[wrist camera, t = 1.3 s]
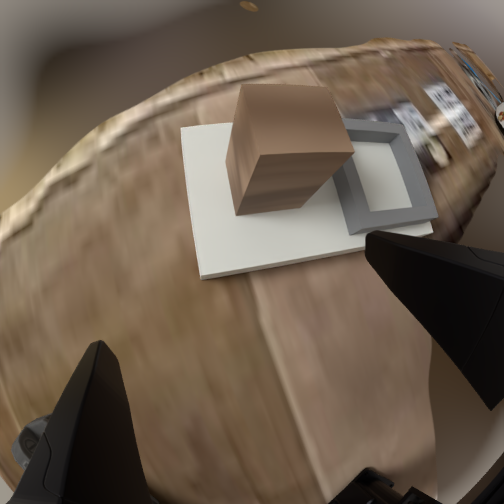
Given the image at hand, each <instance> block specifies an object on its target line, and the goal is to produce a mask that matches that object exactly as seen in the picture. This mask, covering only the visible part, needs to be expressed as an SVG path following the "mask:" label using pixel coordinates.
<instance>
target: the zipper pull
mask: <svg viewBox="0 0 504 504" xmlns="http://www.w3.org/2000/svg"><path fill="white" fill-rule="evenodd" d="M51 415H52V413H51V414H48V415H45V416H43V417H40V418H37V419H35V420H34V421H32V422H30V423H29V424H27V425H26V426H25V427H24V429H23V430H22V431H21V433H20V434H19V435H18V437H17V438H16V440H15V441H14V443H13V445H12V449H11V451H12V454H13V456H14V459H15V461H16V462H17V463H18V464H19V465H20V466H21V467H22V468H23V469H24V471H25V469H26V467H27V465H28V463H29V461H30V459H31V457H32V455H33V453H34V451H35V449H36V446H37V444H38V442H39V440H40V438H41V436H42V433H43V432H44V429H45V427H46V425H47V423H48V421H49V419H50V417H51ZM150 496H151V495H150ZM151 499H152V503H153V504H159V501H158V500H156V499H155V498H154V497H153V496H151Z"/></svg>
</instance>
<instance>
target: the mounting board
mask: <svg viewBox="0 0 504 504" xmlns="http://www.w3.org/2000/svg"><path fill="white" fill-rule="evenodd" d="M342 121H343V123H344V126H345V128H346V130H347V133H348V135H349V138H350V140H351V143H352V145H353V148H354V151H355V153H354V154H353V155H352V156H351V157H350V158H349V159H348V160H347V161H346V162H345V163H344V164H343V165H342V166H341V167H340V168H339V169H338V170H337V171H336V172H335V173H334V174H333V175H332V176H331V177H330V178H329V179H328V180H327V181H326V182H325V183H324V184H323V185H322V186H321V187H320V188H319V189H318V190H317V191H316V192H315V193H314V195H313V196H312V197H311V198H310V199H309V200H308V201H307V202H306V203H305V204H304V205H303V206H302V207H301V208H295V209H287V210H279V211H271V212H263V213H255V214H248V215H241V216H235V211H234V205H233V200H232V195H231V190H230V184H229V179H228V174H227V169H226V163H225V160H226V155H227V150H228V145H229V140H230V135H231V130H232V125H233V123H221V124H210V125H200V126H192V127H184V128H181V141H182V152H183V161H184V170H185V178H186V186H187V194H188V201H189V208H190V215H191V222H192V229H193V235H194V242H195V248H196V254H197V260H198V266H199V272H200V278H201V280H205V279H210V278H216V277H222V276H228V275H233V274H239V273H245V272H250V271H256V270H261V269H267V268H272V267H278V266H283V265H289V264H294V263H299V262H305V261H310V260H315V259H320V258H326V257H331V256H336V255H341V254H346V253H351V252H356V251H361V250H365V236H366V234H367V233H369V232H372V231H374V230H380V231H387V232H393V233H399V234H405V235H410V236H416V237H423V236H425V235H428V234H430V233H433V230H432V226H431V223H430V221H431V220H433V219H436V218H438V214H437V211H436V207H435V204H434V201H433V198H432V195H431V192H430V189H429V186H428V183H427V181H426V178H425V175H424V173H423V170H422V167H421V165H420V162H419V160H418V157H417V155H416V153H415V150H414V148H413V146H412V143H411V141H410V139H409V137H408V134H407V132H406V130H405V128H404V126H403V125H401V124H394V123H386V122H378V121H369V120H359V119H347V118H342Z"/></svg>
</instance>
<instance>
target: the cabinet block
mask: <svg viewBox="0 0 504 504" xmlns="http://www.w3.org/2000/svg"><path fill="white" fill-rule="evenodd" d="M354 153H355V151H354V148H353V145H352V143H351V140H350V138H349V135H348V133H347V130H346V128H345V126H344V123H343V121H342V118H341V116H340V114H339V111H338V109H337V107H336V105H335V103H334V100H333V98H332V96H331V94H330V92H329V90H328V88H327V87H318V86H305V85H286V84H242V85H241V89H240V93H239V98H238V102H237V107H236V111H235V116H234V121H233V125H232V130H231V135H230V140H229V145H228V150H227V155H226V160H225V163H226V169H227V174H228V179H229V184H230V190H231V195H232V200H233V205H234V211H235V216H241V215H248V214H255V213H263V212H271V211H279V210H287V209H295V208H301V207H302V206H303V205H304V204H305V203H306V202H307V201H308V200H309V199H310V198H311V197H312V196H313V195H314V193H315V192H316V191H317V190H318V189H319V188H320V187H321V186H322V185H323V184H324V183H325V182H326V181H327V180H328V179H329V178H330V177H331V176H332V175H333V174H334V173H335V172H336V171H337V170H338V169H339V168H340V167H341V166H342V165H343V164H344V163H345V162H346V161H347V160H348V159H349V158H350V157H351V156H352V155H353V154H354Z"/></svg>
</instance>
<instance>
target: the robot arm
mask: <svg viewBox="0 0 504 504" xmlns="http://www.w3.org/2000/svg"><path fill="white" fill-rule="evenodd" d="M365 257H366V259H367V261H368V262H369V264H370V265H371V266H372V267H373V269H374V270H375V271H376V272H377V274H378V275H379V276H380V277H381V279H382V280H383V281H384V283H385V284H386V285H387V286H388V288H389V289H390V290H391V291H392V292H393V294H394V295H395V296H396V297H397V298H398V299H399V300H400V301H401V302H402V303H403V304H404V306H405V307H406V308H407V309H408V310H409V311H410V312H411V313H412V314H413V315H414V317H415V318H416V319H417V320H418V321H419V322H420V323H421V324H422V326H423V327H424V328H425V329H426V330H427V331H428V332H429V334H430V335H431V336H432V337H433V338H434V339H435V340H436V342H437V343H438V344H439V345H440V347H441V348H442V349H443V350H444V351H445V353H446V354H447V355H448V356H449V357H450V358H451V360H452V361H453V362H454V364H455V365H456V366H457V367H458V369H459V370H460V371H461V372H462V374H463V375H464V376H465V378H466V379H467V380H468V381H469V383H470V384H471V386H472V387H473V388H474V390H475V391H476V392H477V394H478V395H479V396H480V398H481V399H482V400H483V402H484V403H485V405H486V406H487V407H488V409H490V411H492V410H493V408H495V406H496V405H497V404H498V403H499V402H500V401H501V400H502V399H503V398H504V253H502V252H496V251H490V250H484V249H479V248H474V247H469V246H468V247H466V246H464V245H459V244H454V243H449V242H443V241H438V240H433V239H427V238H422V237H416V236H410V235H405V234H399V233H393V232H387V231H380V230H374V231H372V232H369V233H367V234H366V236H365ZM393 486H394V482H392V481H390V480H388V479H386V478H384V477H382V476H381V475H379V474H377V473H375V472H373V471H371V470H369V469H367V468H366V469H364V470H362V471H361V473H360V474H359V475H358V476H357V477H356V478H355V479H354V480H353V481H352V482H351V483H350V484H349V485H348V486H347V487H346V488H345V489H344V490H343V491H342V492H341V493H339V494H338V495H337V496H336V497H335V498H334V499H333V500H332V501H331V502H330V503H329V504H442V503H440V502H438V501H437V500H435V499H433V498H432V497H430V496H428V495H426V494H425V493H423V492H421V491H419V490H418V489H416V488H414V487H413V486H412V487H411V488H410V489H409V491H408V492H407V493H406V494H405V495H404V496H402V495H400V494H399V493H398V492H396V491H395V490H393V489H392V487H393ZM6 504H153V503H152V499H151V496H150V493H149V490H148V486H147V483H146V479H145V476H144V472H143V468H142V464H141V460H140V456H139V452H138V448H137V443H136V438H135V434H134V429H133V423H132V418H131V412H130V407H129V402H128V398H127V395H126V391H125V387H124V383H123V379H122V375H121V370H120V366H119V362H118V359H117V358H116V356H115V355H114V353H113V352H112V351H111V350H110V348H109V347H108V346H107V345H106V343H105V342H104V341H102V340H99V341H96V342H93V343H91V344H90V345H89V347H88V348H87V350H86V352H85V353H84V355H83V357H82V359H81V360H80V362H79V364H78V366H77V367H76V369H75V371H74V373H73V374H72V376H71V378H70V380H69V382H68V384H67V385H66V387H65V389H64V391H63V393H62V395H61V397H60V399H59V401H58V403H57V405H56V407H55V409H54V411H53V413H52V415H51V417H50V419H49V421H48V423H47V425H46V427H45V429H44V432H43V433H42V436H41V438H40V440H39V442H38V444H37V446H36V449H35V451H34V453H33V455H32V457H31V459H30V461H29V463H28V465H27V467H26V469H25V471H24V473H23V475H22V477H21V479H20V481H19V483H18V485H17V488H16V490H15V492H14V494H13V496H12V497H11V499H10V500H9V501H8V502H7V503H6ZM457 504H504V452H503V454H502V455H501V456H500V457H499V459H498V460H497V461H496V462H495V463H494V465H493V466H492V467H491V468H490V469H489V471H488V472H487V473H486V474H485V475H484V476H483V477H482V478H481V480H480V481H479V482H478V483H477V484H476V485H475V486H474V487H473V488H472V489H471V490H470V491H469V492H468V493H467V494H466V495H465V496H464V497H463V498H462V499H461V500H460V501H459V502H458V503H457Z"/></svg>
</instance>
